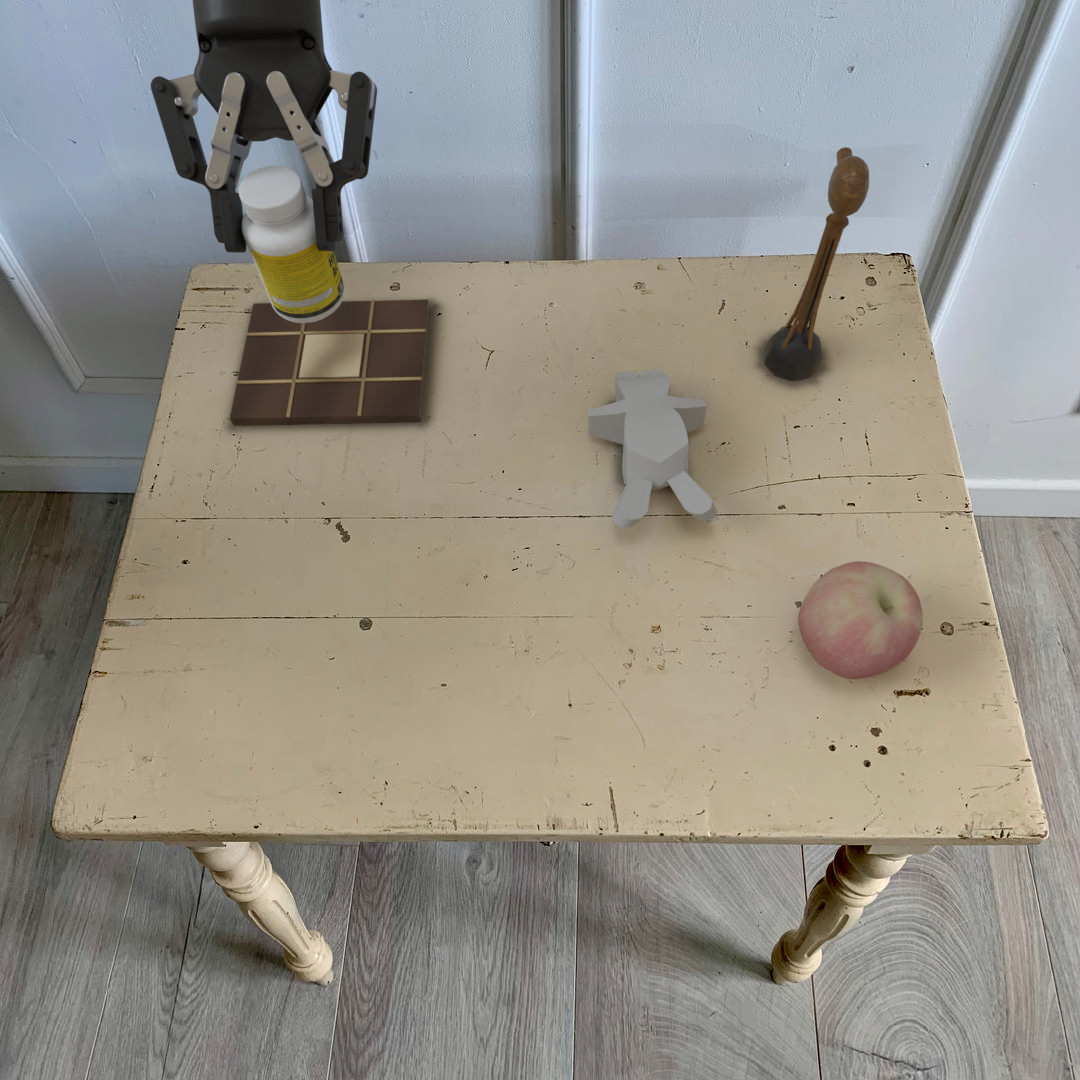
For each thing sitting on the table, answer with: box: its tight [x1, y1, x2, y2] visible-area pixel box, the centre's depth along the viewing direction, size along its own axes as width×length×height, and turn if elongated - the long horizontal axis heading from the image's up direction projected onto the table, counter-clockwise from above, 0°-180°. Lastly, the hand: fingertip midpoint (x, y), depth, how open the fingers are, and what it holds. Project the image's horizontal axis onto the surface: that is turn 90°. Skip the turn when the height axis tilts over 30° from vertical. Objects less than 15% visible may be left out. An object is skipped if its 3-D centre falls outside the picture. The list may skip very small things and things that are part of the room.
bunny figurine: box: [587, 368, 718, 529], centre depth 70 cm, size 10×5×15 cm
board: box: [229, 298, 431, 426], centre depth 78 cm, size 16×13×1 cm
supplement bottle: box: [238, 165, 345, 323], centre depth 60 cm, size 5×5×10 cm
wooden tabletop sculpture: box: [763, 146, 870, 382], centre depth 68 cm, size 6×5×20 cm
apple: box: [797, 560, 924, 680], centre depth 61 cm, size 8×8×8 cm
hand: (281, 250), depth 58 cm, fingers closed on supplement bottle, 5 cm apart
